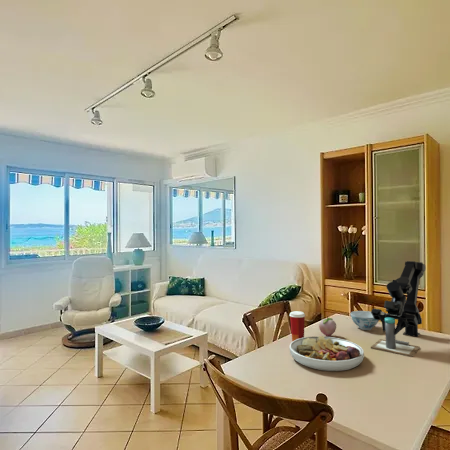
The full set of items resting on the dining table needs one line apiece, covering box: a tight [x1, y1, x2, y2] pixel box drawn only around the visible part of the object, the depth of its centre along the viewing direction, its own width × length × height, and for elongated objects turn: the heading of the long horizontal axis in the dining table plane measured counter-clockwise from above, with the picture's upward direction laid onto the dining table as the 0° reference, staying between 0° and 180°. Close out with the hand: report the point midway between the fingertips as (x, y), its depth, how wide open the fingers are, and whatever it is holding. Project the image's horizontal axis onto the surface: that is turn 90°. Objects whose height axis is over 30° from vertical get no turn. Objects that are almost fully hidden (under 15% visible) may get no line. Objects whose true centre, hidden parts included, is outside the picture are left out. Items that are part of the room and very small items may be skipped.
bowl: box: [289, 335, 365, 372], centre depth 139 cm, size 30×30×8 cm
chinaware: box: [349, 310, 380, 331], centre depth 181 cm, size 15×15×8 cm
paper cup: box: [289, 310, 306, 342], centre depth 162 cm, size 8×8×14 cm
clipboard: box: [370, 338, 421, 358], centre depth 150 cm, size 14×17×2 cm
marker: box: [384, 317, 397, 349], centre depth 149 cm, size 4×4×13 cm
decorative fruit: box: [318, 316, 337, 337], centre depth 168 cm, size 9×8×10 cm
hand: (389, 333), depth 147 cm, fingers open, 5 cm apart
